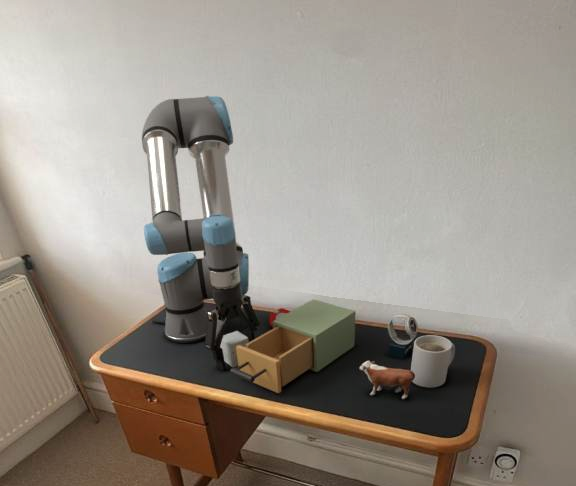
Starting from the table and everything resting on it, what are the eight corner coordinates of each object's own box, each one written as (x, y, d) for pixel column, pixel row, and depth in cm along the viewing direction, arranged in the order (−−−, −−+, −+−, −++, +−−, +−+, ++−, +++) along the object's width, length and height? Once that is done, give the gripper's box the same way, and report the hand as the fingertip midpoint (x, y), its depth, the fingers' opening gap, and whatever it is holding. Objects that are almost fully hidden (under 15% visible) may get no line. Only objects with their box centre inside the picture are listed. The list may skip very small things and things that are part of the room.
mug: (410, 387, 116) (415, 351, 110) (408, 367, 123) (412, 333, 117) (456, 388, 114) (463, 352, 108) (450, 368, 122) (457, 334, 115)
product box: (232, 368, 128) (229, 344, 123) (221, 360, 132) (218, 336, 127) (251, 361, 130) (248, 337, 126) (240, 353, 134) (237, 329, 130)
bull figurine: (359, 384, 118) (361, 356, 113) (413, 392, 114) (417, 363, 109) (355, 393, 115) (356, 364, 110) (410, 402, 111) (414, 373, 106)
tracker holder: (275, 330, 142) (262, 311, 148) (278, 340, 146) (265, 321, 151) (310, 313, 144) (295, 295, 149) (312, 323, 147) (297, 306, 153)
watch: (409, 360, 126) (414, 323, 119) (382, 353, 130) (385, 316, 123) (417, 351, 130) (422, 314, 123) (391, 345, 133) (394, 309, 126)
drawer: (262, 404, 112) (259, 372, 106) (224, 386, 119) (219, 356, 114) (319, 365, 125) (318, 335, 119) (281, 351, 132) (279, 322, 126)
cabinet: (316, 372, 124) (316, 335, 117) (275, 356, 132) (272, 321, 125) (354, 346, 134) (355, 310, 127) (313, 332, 142) (313, 299, 135)
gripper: (200, 303, 109) (214, 382, 122) (267, 272, 122) (274, 347, 136) (180, 296, 113) (196, 373, 126) (247, 267, 126) (255, 340, 140)
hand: (236, 360), depth 131 cm, fingers open, 11 cm apart
